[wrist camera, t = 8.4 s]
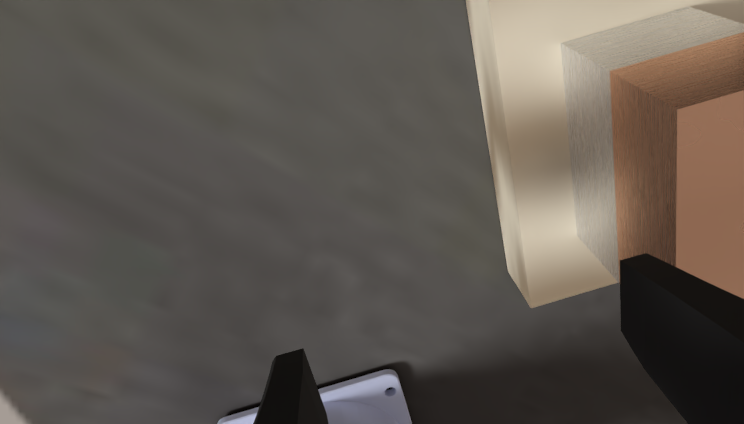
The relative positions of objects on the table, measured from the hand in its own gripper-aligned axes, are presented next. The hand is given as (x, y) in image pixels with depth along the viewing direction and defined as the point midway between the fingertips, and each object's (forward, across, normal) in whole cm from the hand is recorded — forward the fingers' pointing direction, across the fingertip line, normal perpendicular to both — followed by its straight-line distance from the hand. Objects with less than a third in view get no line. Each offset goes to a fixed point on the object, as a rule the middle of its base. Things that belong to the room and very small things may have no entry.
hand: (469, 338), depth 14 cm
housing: (+7, -8, 0) cm, 11 cm away
